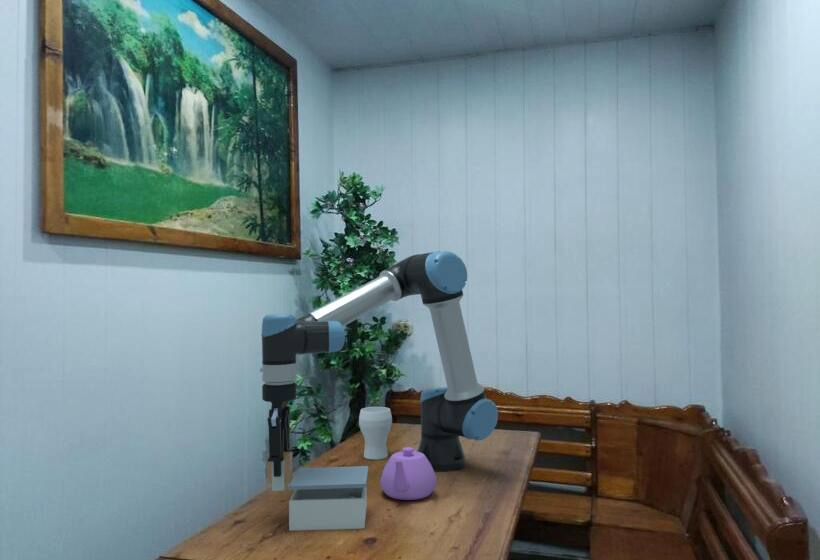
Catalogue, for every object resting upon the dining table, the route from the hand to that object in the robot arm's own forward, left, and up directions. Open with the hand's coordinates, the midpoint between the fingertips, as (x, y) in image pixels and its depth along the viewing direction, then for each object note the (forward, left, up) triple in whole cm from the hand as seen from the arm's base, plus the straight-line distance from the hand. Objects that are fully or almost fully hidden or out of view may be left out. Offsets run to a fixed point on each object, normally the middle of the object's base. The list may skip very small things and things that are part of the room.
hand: (280, 487), depth 120 cm
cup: (-20, -52, -8) cm, 56 cm away
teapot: (-29, -14, -8) cm, 33 cm away
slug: (-15, -2, -7) cm, 17 cm away
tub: (-11, 0, -8) cm, 14 cm away
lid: (-9, 0, +2) cm, 9 cm away
